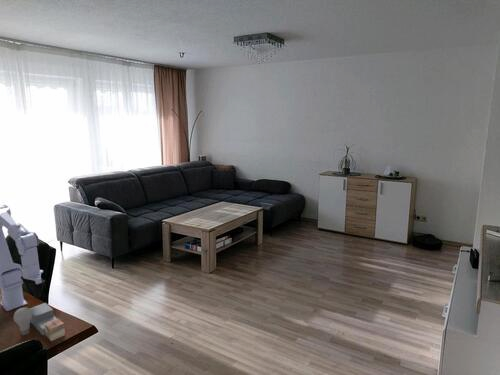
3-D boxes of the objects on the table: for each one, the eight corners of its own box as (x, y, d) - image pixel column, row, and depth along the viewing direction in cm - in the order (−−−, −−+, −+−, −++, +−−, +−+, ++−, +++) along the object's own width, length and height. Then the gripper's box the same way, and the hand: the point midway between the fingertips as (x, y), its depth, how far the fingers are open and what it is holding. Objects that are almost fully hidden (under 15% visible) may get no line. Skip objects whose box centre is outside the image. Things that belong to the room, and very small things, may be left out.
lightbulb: (26, 340, 134) (22, 313, 132) (12, 338, 136) (8, 311, 133) (39, 330, 140) (35, 305, 138) (25, 329, 141) (21, 303, 139)
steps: (29, 321, 146) (27, 309, 145) (47, 314, 151) (45, 302, 150) (43, 335, 137) (41, 322, 136) (60, 327, 142) (59, 314, 141)
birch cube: (49, 329, 133) (51, 341, 134) (63, 323, 137) (65, 335, 138) (44, 324, 136) (46, 335, 137) (58, 318, 140) (59, 329, 141)
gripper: (48, 265, 142) (52, 296, 145) (34, 255, 152) (38, 285, 154) (28, 271, 137) (33, 303, 140) (15, 260, 146) (20, 291, 149)
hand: (34, 294), depth 147 cm, fingers open, 7 cm apart
